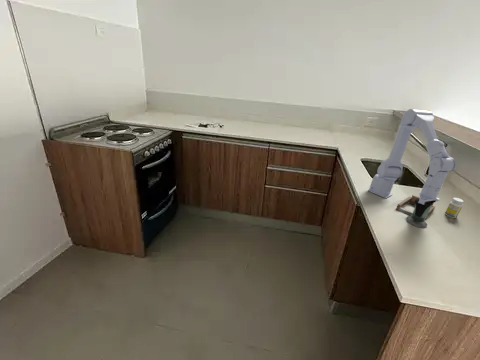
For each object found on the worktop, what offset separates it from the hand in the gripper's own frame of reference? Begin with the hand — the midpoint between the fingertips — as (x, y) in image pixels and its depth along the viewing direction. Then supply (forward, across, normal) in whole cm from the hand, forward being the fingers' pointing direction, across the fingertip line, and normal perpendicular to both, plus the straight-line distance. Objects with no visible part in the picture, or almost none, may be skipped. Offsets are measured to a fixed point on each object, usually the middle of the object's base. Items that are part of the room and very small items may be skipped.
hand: (419, 214), depth 116 cm
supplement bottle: (+4, +23, -8) cm, 25 cm away
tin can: (+2, 0, 0) cm, 2 cm away
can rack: (+4, +12, +4) cm, 13 cm away
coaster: (+4, 0, 0) cm, 4 cm away
